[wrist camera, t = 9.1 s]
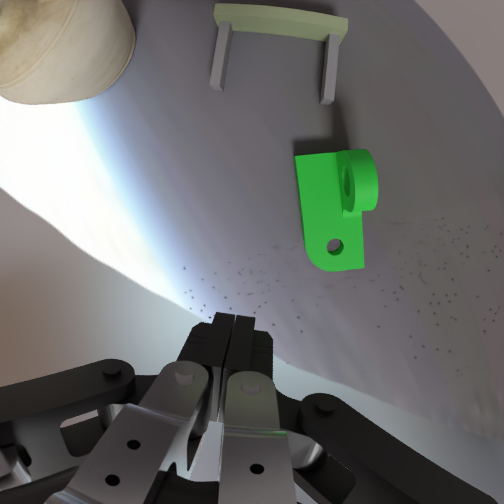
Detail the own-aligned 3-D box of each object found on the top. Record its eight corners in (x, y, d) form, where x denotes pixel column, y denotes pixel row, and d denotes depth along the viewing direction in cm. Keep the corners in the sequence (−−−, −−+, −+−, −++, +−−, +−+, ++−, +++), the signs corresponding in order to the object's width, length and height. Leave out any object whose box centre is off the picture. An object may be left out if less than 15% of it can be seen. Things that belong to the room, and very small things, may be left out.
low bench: (340, 33, 27) (348, 18, 23) (333, 106, 29) (342, 98, 25) (221, 19, 27) (215, 3, 23) (209, 90, 29) (201, 80, 26)
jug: (37, 118, 31) (-123, 110, 7) (61, 15, 27) (-63, -47, 3) (136, 111, 30) (-54, 56, 6) (160, -4, 26) (56, -132, 2)
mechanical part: (293, 157, 31) (301, 152, 23) (350, 152, 30) (374, 147, 23) (306, 268, 34) (315, 297, 26) (359, 262, 33) (382, 288, 26)
